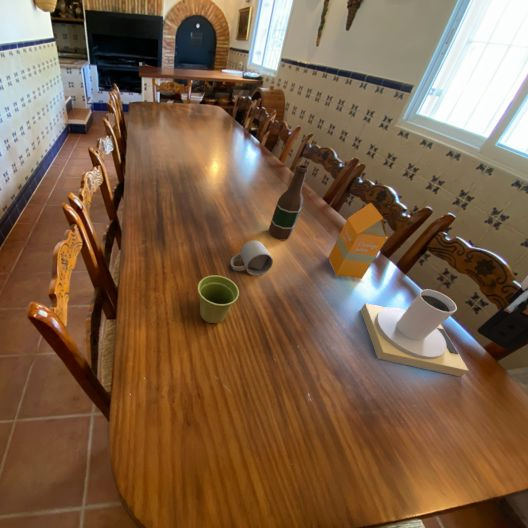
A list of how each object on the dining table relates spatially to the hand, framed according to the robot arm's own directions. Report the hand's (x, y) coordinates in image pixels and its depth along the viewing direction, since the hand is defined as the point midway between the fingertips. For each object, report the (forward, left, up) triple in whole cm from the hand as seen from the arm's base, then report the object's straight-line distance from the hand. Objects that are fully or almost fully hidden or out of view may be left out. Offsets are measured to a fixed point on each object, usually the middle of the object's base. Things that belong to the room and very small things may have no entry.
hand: (508, 323), depth 35 cm
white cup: (-12, -24, -27) cm, 38 cm away
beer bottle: (+15, -62, -30) cm, 70 cm away
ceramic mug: (+25, -40, -30) cm, 56 cm away
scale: (-13, -24, -30) cm, 40 cm away
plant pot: (+33, -19, -30) cm, 49 cm away
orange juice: (-4, -49, -30) cm, 57 cm away
